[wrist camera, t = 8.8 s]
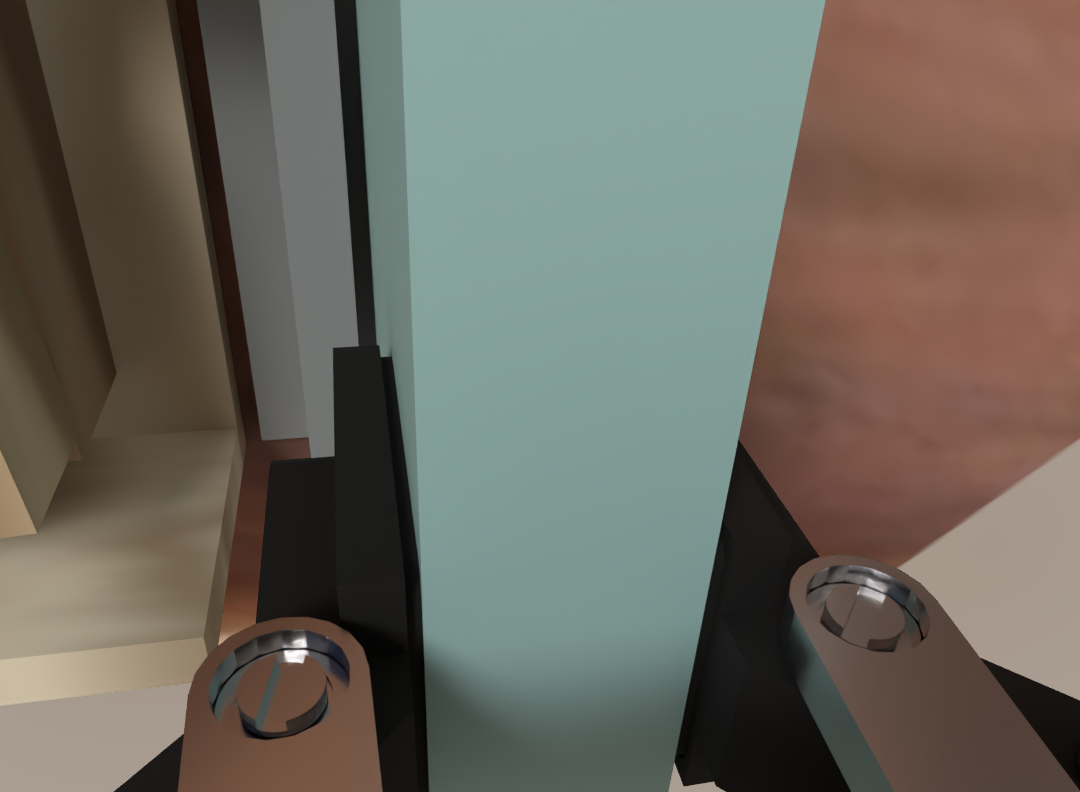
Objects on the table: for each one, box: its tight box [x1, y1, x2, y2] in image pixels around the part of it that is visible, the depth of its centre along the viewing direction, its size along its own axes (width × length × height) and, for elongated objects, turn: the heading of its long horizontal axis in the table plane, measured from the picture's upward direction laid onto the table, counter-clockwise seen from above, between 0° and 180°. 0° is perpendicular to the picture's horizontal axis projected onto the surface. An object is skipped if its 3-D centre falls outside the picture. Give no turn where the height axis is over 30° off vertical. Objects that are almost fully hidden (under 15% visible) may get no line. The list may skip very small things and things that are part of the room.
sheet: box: [355, 0, 825, 792], centre depth 13 cm, size 2×12×13 cm, turn 177°
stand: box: [196, 0, 376, 458], centre depth 19 cm, size 9×15×4 cm, turn 177°
